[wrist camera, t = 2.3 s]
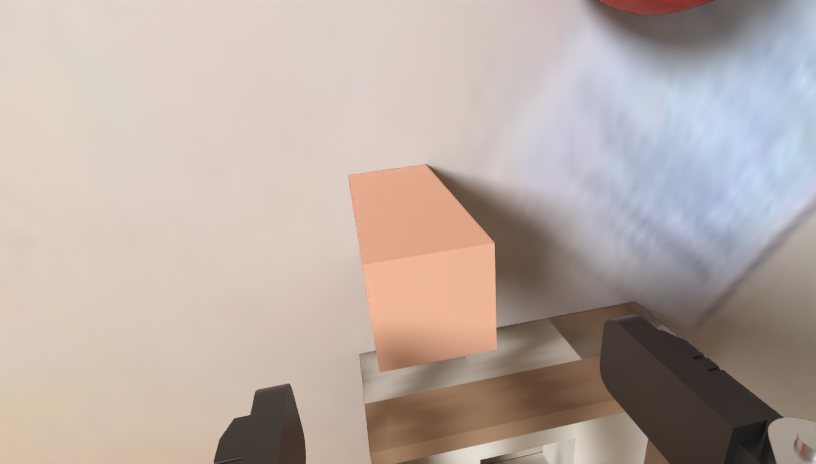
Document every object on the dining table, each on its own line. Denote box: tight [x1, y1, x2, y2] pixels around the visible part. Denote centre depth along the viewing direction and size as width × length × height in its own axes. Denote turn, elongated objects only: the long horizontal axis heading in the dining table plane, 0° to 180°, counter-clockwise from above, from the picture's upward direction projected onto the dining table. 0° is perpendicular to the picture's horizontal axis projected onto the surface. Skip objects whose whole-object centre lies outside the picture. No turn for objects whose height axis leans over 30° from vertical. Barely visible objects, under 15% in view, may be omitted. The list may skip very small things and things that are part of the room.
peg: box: [348, 164, 497, 373], centre depth 18 cm, size 4×4×10 cm
